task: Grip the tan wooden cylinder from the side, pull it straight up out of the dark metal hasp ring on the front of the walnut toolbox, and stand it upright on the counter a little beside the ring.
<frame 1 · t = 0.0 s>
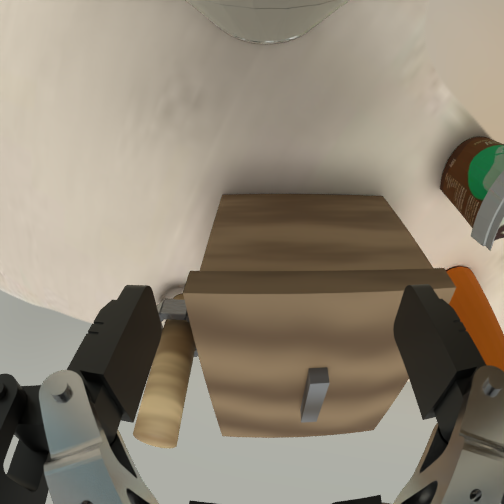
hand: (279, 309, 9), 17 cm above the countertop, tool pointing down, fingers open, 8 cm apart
tan wooden cylinder: (187, 305, 33), on the countertop
food container: (477, 154, 22), on the countertop
toolbox: (300, 278, 30), on the countertop
spray bottle: (440, 299, 32), on the countertop
hasp: (184, 352, 28), point 6 cm above the countertop
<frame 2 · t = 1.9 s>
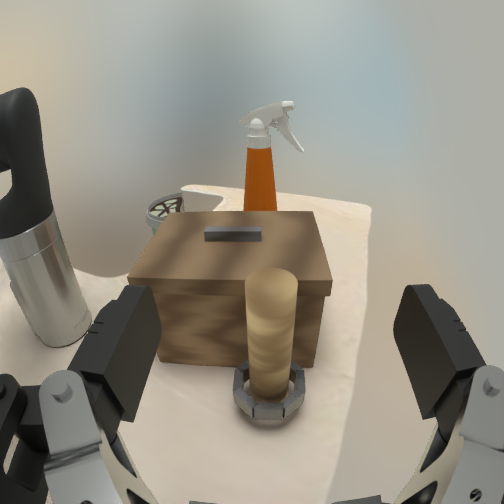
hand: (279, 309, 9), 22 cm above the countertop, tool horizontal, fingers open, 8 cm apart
tan wooden cylinder: (268, 404, 29), on the countertop
food container: (170, 257, 55), on the countertop
toolbox: (239, 325, 40), on the countertop
spray bottle: (270, 254, 55), on the countertop
hasp: (269, 360, 27), point 6 cm above the countertop
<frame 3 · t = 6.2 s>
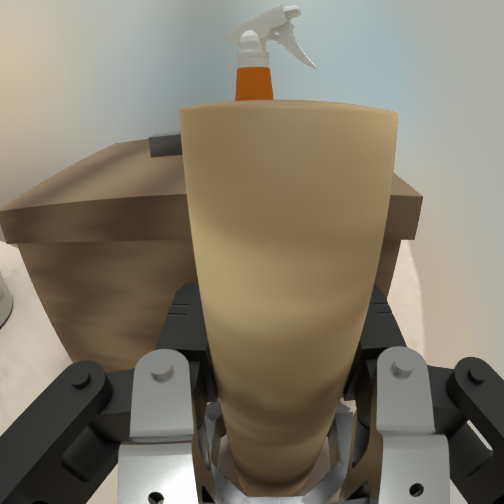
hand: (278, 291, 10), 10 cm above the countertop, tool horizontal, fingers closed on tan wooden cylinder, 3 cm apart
tan wooden cylinder: (272, 473, 13), on the countertop, touching gripper
toolbox: (220, 321, 23), on the countertop
spray bottle: (270, 223, 39), on the countertop
hasp: (277, 398, 10), point 6 cm above the countertop
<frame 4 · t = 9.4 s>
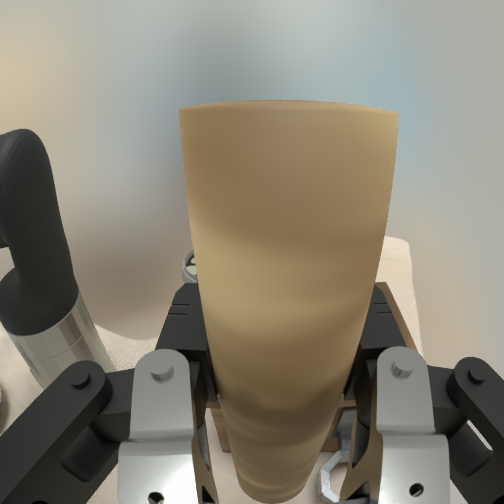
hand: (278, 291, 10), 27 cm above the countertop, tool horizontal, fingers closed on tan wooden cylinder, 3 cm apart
tan wooden cylinder: (272, 474, 13), point 17 cm above the countertop, touching gripper
food container: (208, 313, 49), on the countertop
toolbox: (302, 402, 34), on the countertop
hasp: (360, 461, 21), point 6 cm above the countertop
when the fingers open (11 cm above the countertop, at t = 12.6 s): tan wooden cylinder drops 1 cm, on the countertop.
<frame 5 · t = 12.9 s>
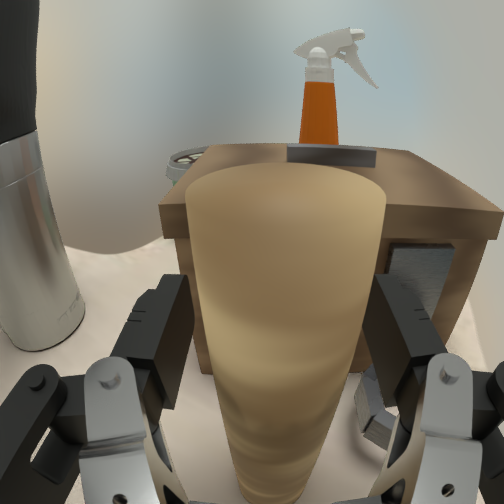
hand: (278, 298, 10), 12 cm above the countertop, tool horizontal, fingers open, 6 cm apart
tan wooden cylinder: (272, 482, 13), on the countertop
food container: (196, 228, 42), on the countertop
toolbox: (317, 310, 26), on the countertop
spray bottle: (327, 224, 42), on the countertop
hasp: (429, 351, 13), point 6 cm above the countertop
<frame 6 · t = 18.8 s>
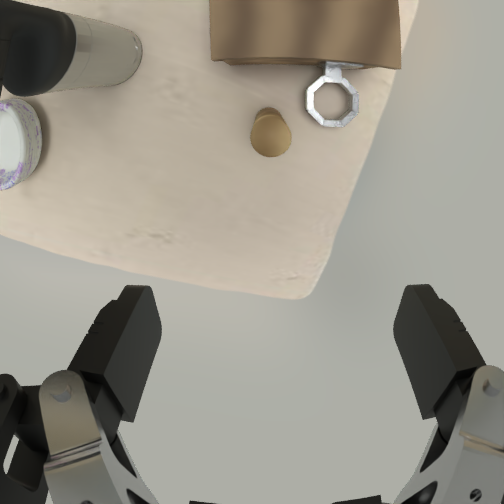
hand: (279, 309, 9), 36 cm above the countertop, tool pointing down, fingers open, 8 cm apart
tan wooden cylinder: (268, 120, 40), on the countertop
toolbox: (295, 18, 32), on the countertop
hasp: (337, 94, 31), point 6 cm above the countertop
paper bowls: (24, 136, 40), on the countertop
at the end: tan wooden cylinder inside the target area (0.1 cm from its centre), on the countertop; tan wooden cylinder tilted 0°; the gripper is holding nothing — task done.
